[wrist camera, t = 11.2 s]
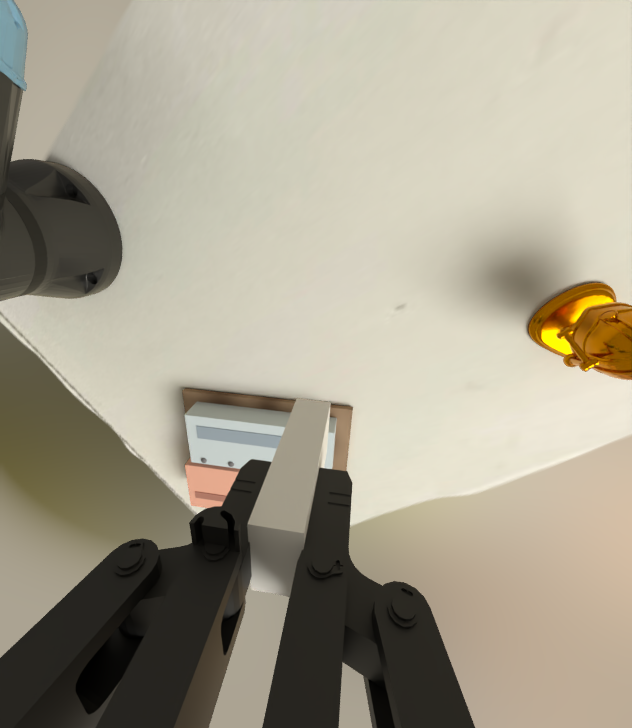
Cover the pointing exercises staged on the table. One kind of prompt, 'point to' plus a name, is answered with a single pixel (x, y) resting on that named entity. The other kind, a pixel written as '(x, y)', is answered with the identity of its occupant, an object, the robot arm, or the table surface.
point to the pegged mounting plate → (239, 434)
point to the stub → (209, 483)
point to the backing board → (277, 404)
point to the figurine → (587, 330)
